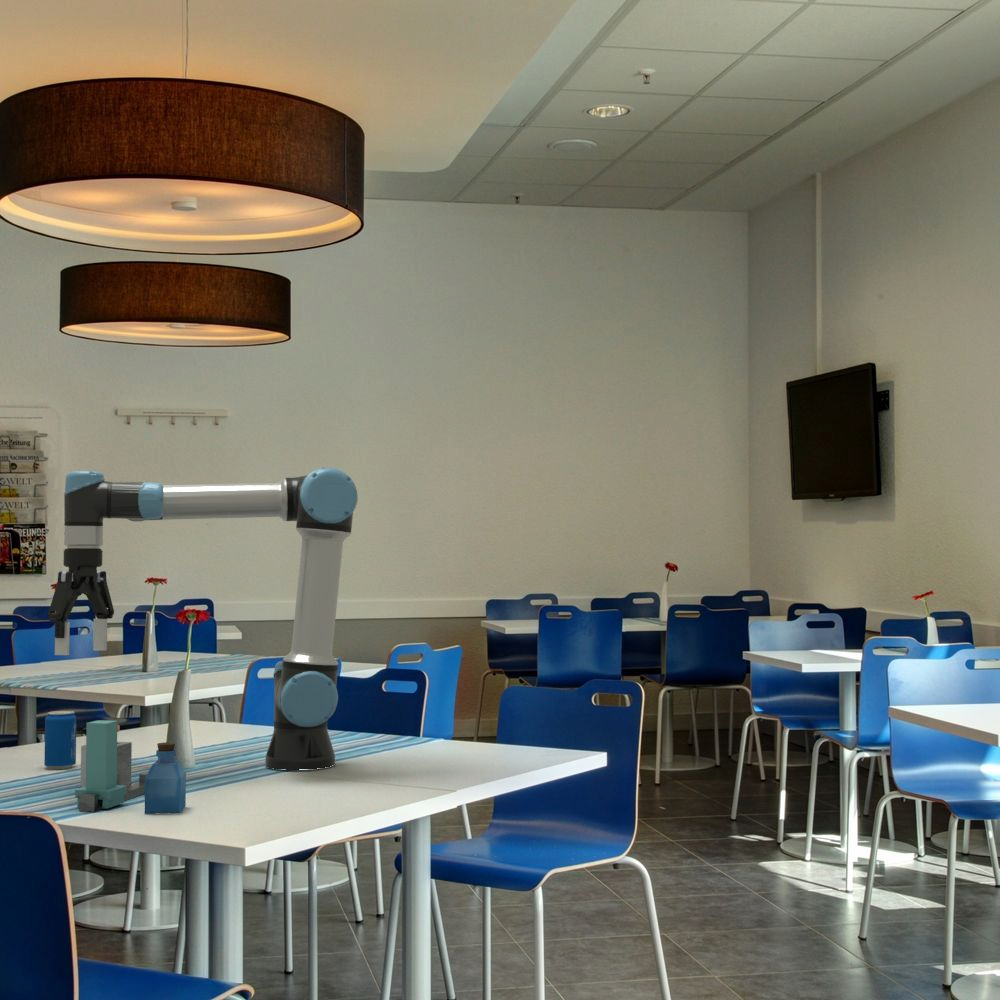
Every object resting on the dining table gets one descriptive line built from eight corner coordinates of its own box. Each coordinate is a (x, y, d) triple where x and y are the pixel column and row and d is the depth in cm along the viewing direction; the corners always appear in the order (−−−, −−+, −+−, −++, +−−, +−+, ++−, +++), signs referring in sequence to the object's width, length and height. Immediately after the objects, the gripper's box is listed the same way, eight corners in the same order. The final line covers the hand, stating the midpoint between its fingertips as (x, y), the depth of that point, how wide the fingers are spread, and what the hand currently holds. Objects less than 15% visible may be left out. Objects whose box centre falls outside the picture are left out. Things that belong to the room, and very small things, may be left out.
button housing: (131, 787, 258) (131, 742, 259) (113, 794, 251) (114, 747, 252) (98, 786, 260) (99, 741, 260) (80, 792, 253) (81, 746, 253)
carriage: (126, 802, 241) (127, 720, 242) (110, 808, 235) (111, 724, 236) (91, 801, 242) (93, 719, 243) (74, 807, 237) (76, 723, 237)
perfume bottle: (179, 813, 232) (180, 745, 233) (144, 814, 232) (145, 746, 233) (185, 807, 239) (186, 741, 239) (151, 807, 238) (152, 741, 239)
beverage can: (65, 770, 279) (66, 714, 280) (38, 769, 281) (39, 713, 281) (81, 766, 286) (82, 711, 286) (54, 765, 287) (55, 710, 288)
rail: (156, 788, 257) (156, 773, 257) (94, 811, 234) (94, 795, 234) (142, 788, 258) (142, 773, 258) (79, 811, 234) (79, 794, 234)
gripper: (100, 548, 277) (98, 648, 276) (30, 546, 253) (27, 656, 252) (132, 548, 275) (130, 649, 274) (64, 546, 251) (62, 657, 250)
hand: (81, 652), depth 263 cm, fingers open, 13 cm apart
